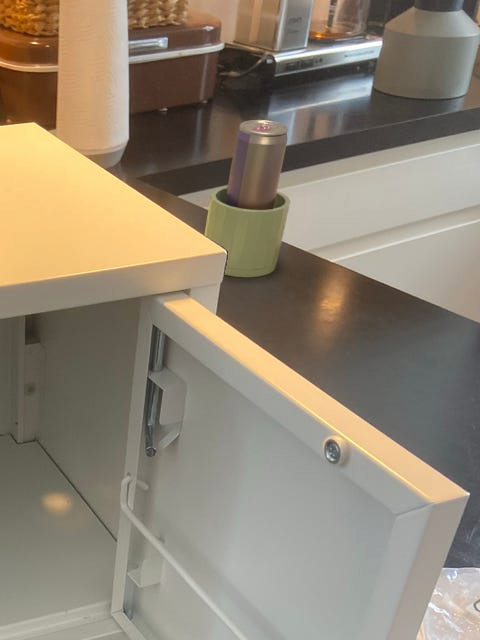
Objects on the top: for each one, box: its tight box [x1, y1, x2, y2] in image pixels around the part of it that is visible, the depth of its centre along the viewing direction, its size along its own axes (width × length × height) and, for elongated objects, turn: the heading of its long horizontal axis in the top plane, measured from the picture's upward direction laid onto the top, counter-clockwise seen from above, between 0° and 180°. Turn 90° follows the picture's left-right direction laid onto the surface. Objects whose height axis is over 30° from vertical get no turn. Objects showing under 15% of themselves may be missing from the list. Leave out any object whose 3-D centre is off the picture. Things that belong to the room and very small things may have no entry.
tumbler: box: [203, 185, 291, 278], centre depth 120 cm, size 10×10×8 cm
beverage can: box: [225, 119, 289, 210], centre depth 116 cm, size 6×6×15 cm
